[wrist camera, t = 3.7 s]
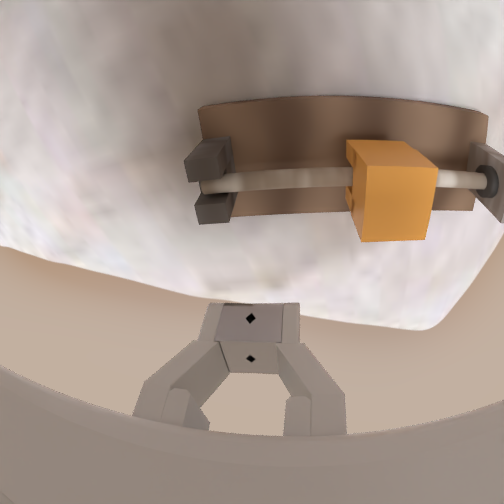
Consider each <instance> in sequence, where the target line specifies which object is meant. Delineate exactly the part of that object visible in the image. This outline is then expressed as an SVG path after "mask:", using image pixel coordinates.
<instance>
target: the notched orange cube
mask: <svg viewBox="0 0 504 504" xmlns="http://www.w3.org/2000/svg"><path fill="white" fill-rule="evenodd" d="M346 158H347V159H348V161H349V163H350V164H351V166H352V167H353V186H346V196H345V199H346V201H347V204H348V206H349V209H350V211H351V216H352V218H353V221H354V224H355V226H356V229H357V232H358V235H359V237H360V240H361V242H378V241H405V240H425V237H426V232H427V228H428V224H429V219H430V214H431V210H432V204H433V199H434V194H435V188H436V182H437V175H438V167H436V166H435V165H434V164H433V163H432V162H431V161H429V160H428V159H427V158H426V157H425V156H424V155H422V154H421V153H420V152H419V151H417V150H416V149H413V148H412V147H410V146H409V145H408V144H407V143H405V142H404V141H387V140H346Z"/></svg>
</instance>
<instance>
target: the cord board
mask: <svg viewBox="0 0 504 504" xmlns="http://www.w3.org/2000/svg"><path fill="white" fill-rule="evenodd" d="M198 115H199V120H200V125H201V131H202V136H203V140H202V141H201V142H200V144H199V145H198V146H197V147H196V148H195V149H194V150H193V151H192V152H191V153H190V155H189V156H188V157H187V158H186V159H185V160H184V164H185V169H186V173H187V177H188V182H197V181H199V185H200V190H201V194H200V196H199V198H198V200H197V202H196V203H195V205H194V206H195V210H196V215H197V218H198V222H199V225H200V224H215V223H229V221H230V218H231V217H239V216H255V215H273V214H293V213H316V212H346V211H350V209H349V206H348V204H347V201H346V199H345V196H346V186H353V167H352V166H351V164H350V163H349V161H348V159H347V158H346V140H387V141H404V142H405V143H407V144H408V145H409V146H410V147H412V148H413V149H416V150H417V151H419V152H420V153H421V154H422V155H424V156H425V157H426V158H427V159H428V160H429V161H431V162H432V163H433V164H434V165H435V166H436V167H438V175H437V182H436V188H435V194H434V199H433V204H432V210H455V211H472V210H473V207H474V203H475V198H477V199H478V200H479V201H480V202H481V203H482V204H483V205H484V206H485V207H486V208H487V209H488V210H489V211H490V212H491V213H492V214H493V215H494V216H495V217H496V218H497V220H498V221H499V222H500V223H504V156H503V155H502V154H501V153H499V152H497V151H496V150H494V149H493V148H491V147H490V146H488V145H487V144H486V136H487V127H488V116H487V115H485V114H483V113H481V112H478V111H474V110H469V109H464V108H459V107H454V106H448V105H442V104H436V103H429V102H422V101H413V100H404V99H394V98H381V97H363V96H299V97H280V98H267V99H256V100H247V101H238V102H230V103H223V104H216V105H209V106H203V107H201V108H200V109H198Z"/></svg>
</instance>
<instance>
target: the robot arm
mask: <svg viewBox="0 0 504 504" xmlns="http://www.w3.org/2000/svg"><path fill="white" fill-rule="evenodd" d="M229 372H231V373H263V374H279V376H280V378H281V380H282V381H283V383H284V385H285V386H286V388H287V390H288V391H289V393H290V395H291V397H290V398H289V399H287V400H286V409H285V421H284V422H285V423H284V433H283V436H264V435H248V434H236V433H235V434H234V433H225V432H216V431H209V424H210V422H209V421H208V419H207V418H206V416H205V415H204V414H203V412H202V411H201V409H200V407H201V406H202V405H203V404H204V403H205V402H206V401H207V399H208V398H209V397H210V396H211V395H212V394H213V393H214V391H215V390H216V389H217V388H218V387H219V386H220V385H221V383H222V382H223V381H224V380H225V379H226V377H227V376H228V375H229ZM0 504H504V400H502V401H499V402H496V403H494V404H491V405H488V406H485V407H482V408H479V409H476V410H473V411H469V412H466V413H462V414H459V415H455V416H452V417H448V418H444V419H440V420H436V421H431V422H427V423H422V424H417V425H412V426H407V427H401V428H396V429H388V430H382V431H374V432H365V433H357V434H356V433H355V434H347V432H346V409H345V394H344V393H343V391H342V390H341V389H340V388H339V386H338V385H337V384H336V382H335V381H333V379H332V377H331V376H330V375H329V374H328V372H327V371H326V370H325V369H324V367H323V366H322V365H321V364H320V362H319V361H318V360H317V359H316V357H315V356H314V355H313V354H312V352H311V351H310V350H309V348H308V347H307V346H306V345H305V343H300V304H299V303H255V304H242V303H210V304H209V305H208V307H207V311H206V314H205V317H204V320H203V324H202V327H201V330H200V334H199V337H198V340H193V341H192V342H191V343H189V344H188V345H187V346H186V347H185V348H184V349H183V350H181V351H180V352H179V353H178V354H177V355H176V356H174V357H173V358H172V359H171V360H170V361H168V362H167V363H166V364H165V365H164V366H163V367H161V368H160V369H159V370H158V371H157V372H156V373H154V374H153V375H152V376H151V377H149V378H148V379H147V380H146V381H145V382H144V384H143V387H142V389H141V392H140V395H139V398H138V401H137V403H136V406H135V409H134V412H133V415H132V416H131V415H127V414H124V413H120V412H116V411H113V410H109V409H106V408H103V407H100V406H96V405H93V404H90V403H87V402H84V401H82V400H78V399H76V398H73V397H70V396H68V395H65V394H63V393H60V392H57V391H55V390H53V389H50V388H48V387H45V386H43V385H41V384H38V383H36V382H34V381H31V380H30V379H27V378H25V377H23V376H21V375H19V374H17V373H15V372H13V371H11V370H9V369H7V368H5V367H3V366H1V365H0Z"/></svg>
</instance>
